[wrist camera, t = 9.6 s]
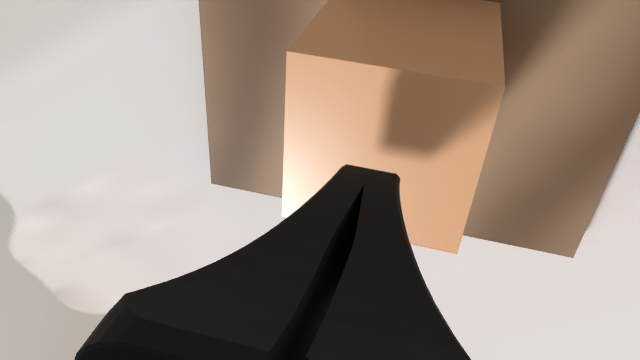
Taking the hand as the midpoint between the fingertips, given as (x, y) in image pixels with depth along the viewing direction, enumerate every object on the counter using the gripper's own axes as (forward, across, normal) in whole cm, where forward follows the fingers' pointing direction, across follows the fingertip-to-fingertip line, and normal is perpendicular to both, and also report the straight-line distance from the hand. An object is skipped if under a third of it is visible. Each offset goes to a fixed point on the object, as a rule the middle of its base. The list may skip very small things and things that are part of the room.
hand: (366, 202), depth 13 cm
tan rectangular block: (+8, 0, 0) cm, 8 cm away
